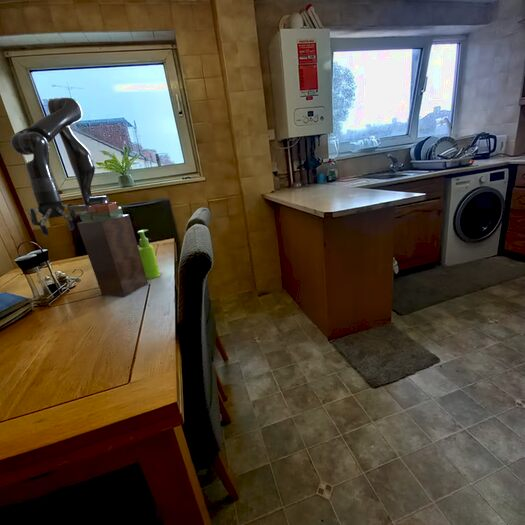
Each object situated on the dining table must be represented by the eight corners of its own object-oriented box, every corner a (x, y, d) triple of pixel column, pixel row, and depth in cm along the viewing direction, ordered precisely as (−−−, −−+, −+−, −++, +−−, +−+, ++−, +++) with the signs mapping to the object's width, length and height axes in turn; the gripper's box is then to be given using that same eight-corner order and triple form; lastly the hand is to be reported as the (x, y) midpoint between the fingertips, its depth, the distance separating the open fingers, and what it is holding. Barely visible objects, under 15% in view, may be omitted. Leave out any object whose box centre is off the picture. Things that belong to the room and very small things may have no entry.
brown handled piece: (83, 214, 109) (80, 204, 107) (124, 212, 101) (121, 201, 100) (61, 220, 101) (57, 208, 100) (104, 218, 93) (100, 205, 92)
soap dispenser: (163, 271, 123) (152, 227, 116) (156, 278, 116) (144, 232, 109) (151, 272, 124) (139, 229, 116) (143, 279, 117) (130, 233, 110)
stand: (125, 280, 118) (103, 207, 107) (149, 282, 113) (128, 206, 102) (99, 295, 106) (71, 215, 95) (125, 297, 102) (98, 213, 91)
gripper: (63, 189, 112) (75, 228, 117) (19, 193, 101) (34, 236, 106) (70, 188, 108) (83, 229, 112) (25, 192, 97) (41, 237, 102)
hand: (59, 232), depth 109 cm, fingers open, 8 cm apart
